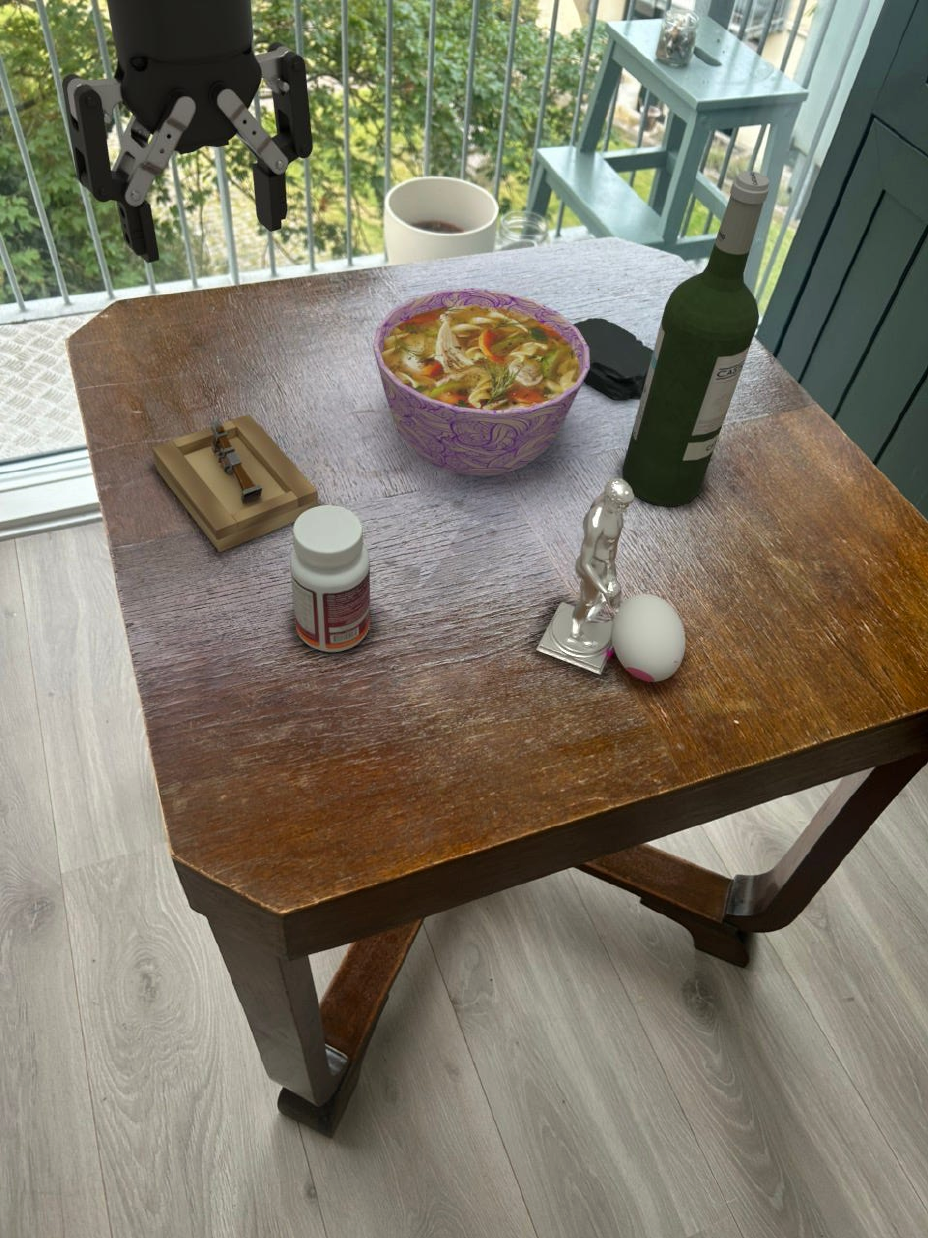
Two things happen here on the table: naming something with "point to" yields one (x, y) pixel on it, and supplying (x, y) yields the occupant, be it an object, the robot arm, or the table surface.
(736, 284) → the wine bottle
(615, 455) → the table surface
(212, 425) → the wooden post with brackets
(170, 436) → the table surface
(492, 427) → the bowl of food
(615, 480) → the figurine
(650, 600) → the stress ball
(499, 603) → the table surface
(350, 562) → the pill bottle
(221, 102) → the robot arm
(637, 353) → the stone
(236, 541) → the holder
